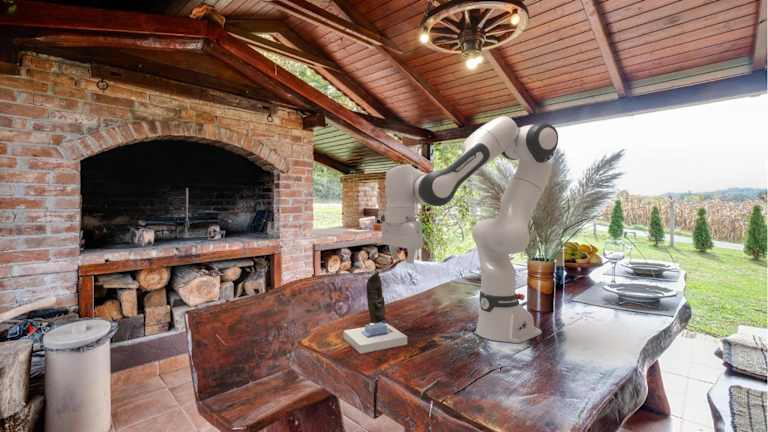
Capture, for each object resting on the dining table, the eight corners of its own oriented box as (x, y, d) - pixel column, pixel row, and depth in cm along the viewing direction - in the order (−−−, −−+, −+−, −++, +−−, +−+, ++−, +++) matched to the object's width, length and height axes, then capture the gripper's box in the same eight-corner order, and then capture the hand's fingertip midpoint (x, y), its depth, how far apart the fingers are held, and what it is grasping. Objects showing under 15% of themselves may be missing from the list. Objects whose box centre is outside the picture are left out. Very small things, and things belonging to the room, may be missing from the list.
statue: (385, 328, 126) (385, 272, 125) (366, 326, 127) (366, 271, 127) (389, 322, 133) (389, 268, 132) (370, 320, 134) (370, 268, 134)
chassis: (386, 330, 124) (386, 322, 124) (407, 344, 111) (407, 335, 111) (343, 338, 117) (343, 329, 117) (360, 353, 104) (360, 344, 104)
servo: (384, 336, 118) (384, 319, 118) (390, 340, 114) (390, 322, 114) (361, 341, 114) (361, 323, 114) (366, 345, 111) (366, 326, 110)
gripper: (427, 216, 102) (429, 264, 102) (394, 215, 120) (395, 256, 121) (408, 218, 99) (410, 267, 100) (377, 216, 117) (379, 258, 118)
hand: (402, 261), depth 110 cm, fingers open, 8 cm apart
